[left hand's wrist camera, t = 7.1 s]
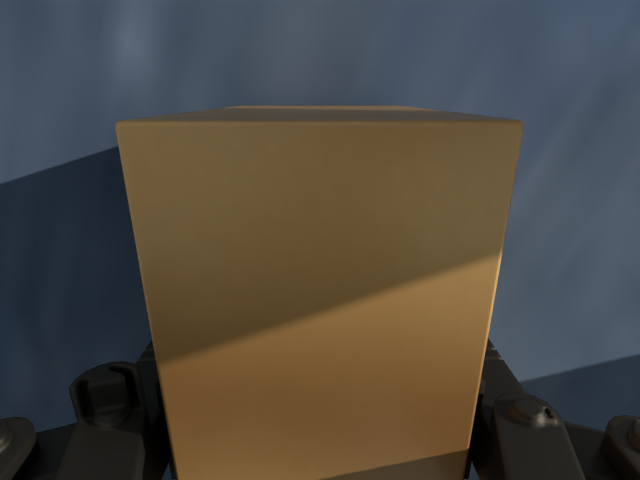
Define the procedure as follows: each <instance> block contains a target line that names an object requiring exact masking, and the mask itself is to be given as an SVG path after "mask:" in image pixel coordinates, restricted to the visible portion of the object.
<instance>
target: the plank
mask: <svg viewBox="0 0 640 480" xmlns="http://www.w3.org/2000/svg"><path fill="white" fill-rule="evenodd" d="M115 128H116V134H117V140H118V146H119V151H120V157H121V163H122V169H123V174H124V180H125V186H126V192H127V197H128V203H129V209H130V215H131V220H132V226H133V232H134V238H135V243H136V249H137V255H138V261H139V266H140V272H141V278H142V284H143V289H144V295H145V301H146V307H147V312H148V318H149V324H150V330H151V335H152V341H153V347H154V353H155V358H156V364H157V370H158V376H159V381H160V387H161V393H162V399H163V404H164V410H165V416H166V422H167V427H168V433H169V439H170V445H171V450H172V456H173V462H174V468H175V473H176V479H177V480H464V474H465V468H466V462H467V456H468V451H469V445H470V439H471V433H472V427H473V421H474V415H475V410H476V404H477V398H478V392H479V386H480V380H481V374H482V368H483V363H484V357H485V351H486V345H487V339H488V333H489V327H490V322H491V316H492V310H493V304H494V298H495V292H496V286H497V281H498V275H499V269H500V263H501V257H502V251H503V245H504V240H505V234H506V228H507V222H508V216H509V210H510V204H511V199H512V193H513V187H514V181H515V175H516V169H517V163H518V157H519V152H520V146H521V140H522V134H523V128H524V125H523V122H522V121H520V120H515V119H506V118H498V117H490V116H481V115H473V114H464V113H456V112H448V111H439V110H431V109H422V108H414V107H406V106H236V107H228V108H220V109H211V110H203V111H195V112H186V113H178V114H170V115H161V116H153V117H145V118H137V119H128V120H121V121H118V122H117V123H116V126H115Z"/></svg>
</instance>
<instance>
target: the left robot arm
mask: <svg viewBox="0 0 640 480" xmlns="http://www.w3.org/2000/svg"><path fill="white" fill-rule="evenodd" d="M69 392H70V395H71V399H72V403H73V406H74V410H75V414H76V417H77V423H74V424H71V425H67V426H63V427H59V428H55V429H51V430H46V431H42V432H38V433H36V432H35V429H34V426H33V423H31V422H30V421H29V420H28V419H27V418H20V417H12V418H5V419H1V420H0V480H161V479H162V477H163V475H164V472H165V470H166V467H167V465H168V463H169V465H170V471H171V477H172V479H176V473H175V468H174V462H173V456H172V450H171V445H170V439H169V433H168V427H167V422H166V416H165V410H164V404H163V399H162V393H161V387H160V381H159V376H158V370H157V364H156V358H155V353H154V347H153V341H151V342H150V344H149V345H148V346H147V348H146V351H144V352H143V354H142V355H141V357H140V358H139V361H137V362H136V364H132V363H128V362H111V363H107V364H103V365H99V366H97V367H95V368H92V369H90V370H88V371H86V372H85V373H83V374H82V375H81V376H79V377H78V378H76V379H75V380H74V382H73V383H72V384H71V386H70V387H69ZM471 462H473V465H474V467H475V470H476V472H477V474H478V477H479V480H640V418H639V417H633V416H626V415H624V416H617V417H613V418H612V419H611V420H610V421H609V422H608V424H607V427H606V430H605V431H601V430H597V429H592V428H588V427H584V426H580V425H575V424H572V423H569V422H565V421H563V420H562V419H561V417H560V415H559V414H558V412H557V411H556V410H555V409H554V408H552V407H551V406H550V405H549V404H548V403H547V402H545V401H543V400H541V399H539V398H537V397H535V396H533V395H529V394H526V392H525V391H524V389H523V388H522V386H521V385H520V383H519V382H518V381H517V379H516V378H515V376H514V375H513V373H512V372H511V370H510V369H509V368H508V366H507V365H506V363H505V362H504V360H502V359H501V356H500V355H499V353H498V352H497V350H495V347H494V346H493V344H492V343H491V342H490V340H489V339H487V345H486V351H485V357H484V363H483V368H482V374H481V380H480V386H479V392H478V398H477V404H476V410H475V415H474V421H473V427H472V433H471V439H470V445H469V451H468V456H467V462H466V468H465V474H464V479H468V478H469V473H470V467H471Z"/></svg>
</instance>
